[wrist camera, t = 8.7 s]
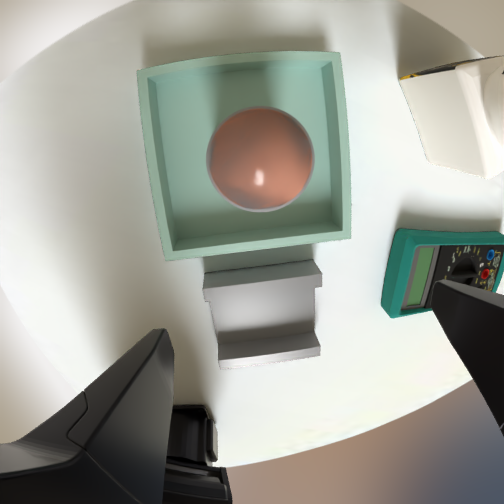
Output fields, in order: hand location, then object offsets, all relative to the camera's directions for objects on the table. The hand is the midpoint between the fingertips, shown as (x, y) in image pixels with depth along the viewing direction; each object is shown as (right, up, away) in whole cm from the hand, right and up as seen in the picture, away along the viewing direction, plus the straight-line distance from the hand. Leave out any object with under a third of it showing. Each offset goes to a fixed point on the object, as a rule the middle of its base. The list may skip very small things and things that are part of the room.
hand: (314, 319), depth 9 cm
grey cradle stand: (-1, -2, +14) cm, 15 cm away
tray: (-2, +9, +10) cm, 13 cm away
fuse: (-2, +8, +10) cm, 13 cm away
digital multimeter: (+16, +1, +15) cm, 22 cm away
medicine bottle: (+13, +13, +10) cm, 21 cm away
